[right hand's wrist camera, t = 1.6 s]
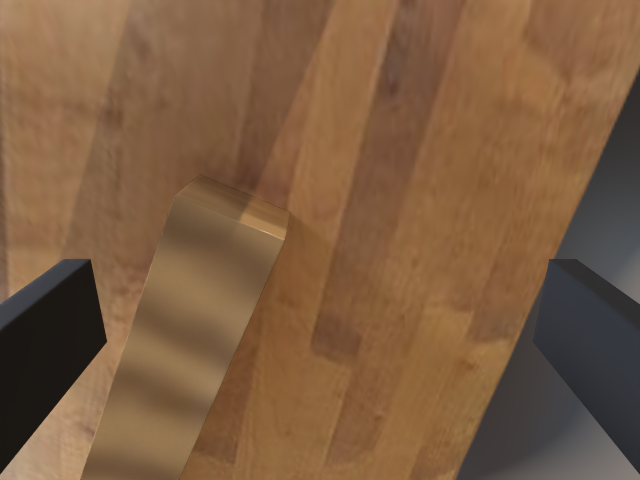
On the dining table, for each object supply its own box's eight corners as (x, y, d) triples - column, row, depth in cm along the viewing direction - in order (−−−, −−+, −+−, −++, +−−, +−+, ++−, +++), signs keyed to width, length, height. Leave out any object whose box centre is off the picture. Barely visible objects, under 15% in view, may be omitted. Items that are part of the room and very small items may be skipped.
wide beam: (199, 174, 38) (174, 195, 31) (290, 212, 39) (285, 240, 33) (66, 558, 56) (32, 623, 49) (132, 576, 57) (107, 641, 50)
